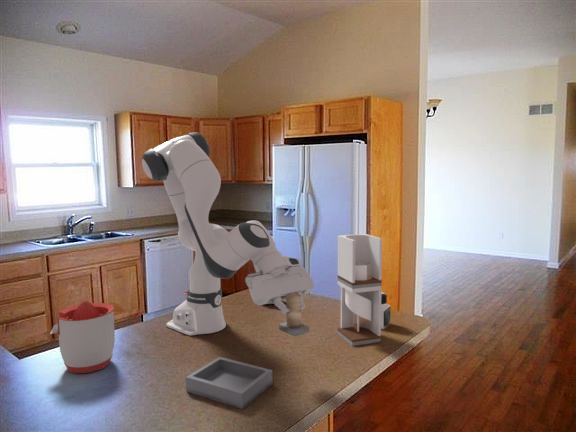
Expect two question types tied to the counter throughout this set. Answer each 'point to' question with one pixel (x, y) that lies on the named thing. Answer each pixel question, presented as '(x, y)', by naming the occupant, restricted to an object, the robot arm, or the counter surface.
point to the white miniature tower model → (360, 288)
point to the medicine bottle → (384, 311)
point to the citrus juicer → (86, 336)
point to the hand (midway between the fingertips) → (295, 310)
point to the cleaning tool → (294, 317)
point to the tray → (229, 382)
